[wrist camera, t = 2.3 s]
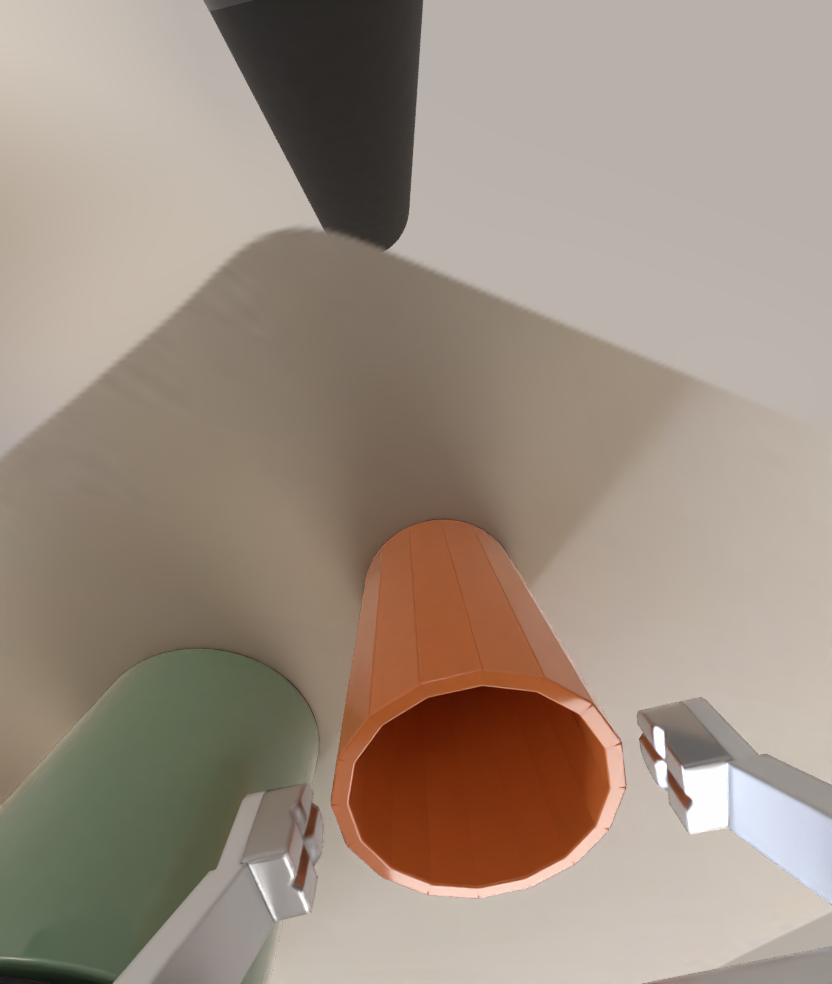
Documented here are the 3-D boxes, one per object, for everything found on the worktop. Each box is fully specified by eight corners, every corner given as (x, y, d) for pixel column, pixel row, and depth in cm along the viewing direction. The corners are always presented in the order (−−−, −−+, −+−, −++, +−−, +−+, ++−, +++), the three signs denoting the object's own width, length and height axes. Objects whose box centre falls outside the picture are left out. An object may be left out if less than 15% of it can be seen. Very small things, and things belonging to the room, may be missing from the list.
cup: (347, 538, 17) (293, 711, 8) (501, 503, 17) (611, 641, 8) (385, 667, 19) (374, 921, 10) (525, 637, 19) (636, 867, 10)
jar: (58, 675, 18) (-482, 1157, 7) (281, 625, 18) (88, 1041, 7) (150, 837, 21) (-134, 1369, 10) (344, 796, 21) (279, 1293, 10)
